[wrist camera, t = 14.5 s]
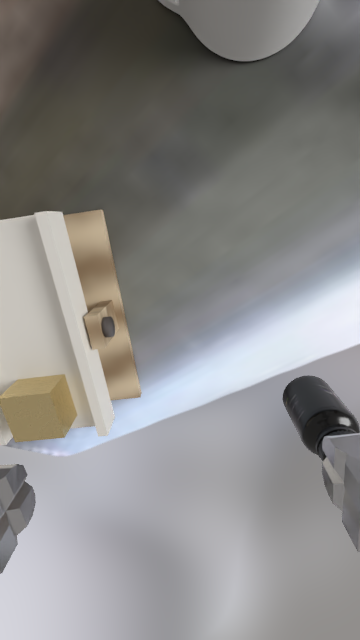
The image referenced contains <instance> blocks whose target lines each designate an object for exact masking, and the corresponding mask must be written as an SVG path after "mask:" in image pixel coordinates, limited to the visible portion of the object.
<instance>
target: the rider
mask: <svg viewBox="0 0 360 640" xmlns="http://www.w3.org/2000/svg"><path fill="white" fill-rule="evenodd" d="M0 406H1V409H2V411H3V414H4V416H5V418H6V421H7V423H8V426H9V428H10V431H11V433H12V435H13V438H14V440H15V442H23V441H33V440H43V439H54V438H64V437H65V436H66V434H67V432H68V431H69V429H70V427H71V425H72V424H73V422H74V420H75V418H76V417H77V412H76V409H75V406H74V403H73V399H72V396H71V393H70V390H69V386H68V383H67V380H66V377H65V374H61V375H52V376H44V377H35V378H26V379H18V380H17V381H16V382H15V383H13V384H12V385H11V386H10V387H9V388H8V389H7V390H6V391H5V392H4V393H3V394H2V395H1V396H0Z"/></svg>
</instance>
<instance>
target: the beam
mask: <svg viewBox="0 0 360 640" xmlns="http://www.w3.org/2000/svg"><path fill="white" fill-rule="evenodd" d="M87 314H88V310H87V307H86V303H85V299H84V295H83V291H82V287H81V283H80V279H79V275H78V271H77V268H76V264H75V260H74V256H73V252H72V248H71V244H70V240H69V236H68V233H67V229H66V225H65V221H64V217H63V213H62V212H55V211H44V212H37V213H35V215H31V216H24V217H18V218H11V219H5V220H0V396H1V395H2V394H3V393H4V392H5V391H6V390H7V389H8V388H9V387H10V386H11V385H12V384H13V383H15V382H16V381H17V380H18V379H26V378H35V377H44V376H52V375H61V374H65V377H66V380H67V383H68V386H69V390H70V393H71V396H72V399H73V403H74V406H75V409H76V412H77V417H76V418H75V420H74V422H73V424H72V425H71V427H70V428H80V427H91V426H96V430H97V433H98V436H107V435H108V434H109V431H110V428H111V426H112V423H113V420H114V418H115V416H114V412H113V408H112V404H111V400H110V396H109V392H108V388H107V384H106V381H105V377H104V373H103V369H102V365H101V361H100V357H99V353H98V349H95V350H92V346H91V342H90V338H89V334H88V330H87V326H86V323H85V319H84V316H85V315H87ZM12 437H13V435H12V433H11V431H10V428H9V426H8V423H7V421H6V418H5V416H4V414H3V411H2V409H1V406H0V445H7V443H8V442H9V441H10V440H11V438H12Z"/></svg>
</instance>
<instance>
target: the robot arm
mask: <svg viewBox="0 0 360 640" xmlns="http://www.w3.org/2000/svg"><path fill="white" fill-rule="evenodd" d="M158 1H159V2H160V3H162V4H163V5H164V6H166V7H167V8H169V9H170V10H172V11H174V12H175V13H177V14H179V15H180V16H181V17H182V18H183V19H184V20H185V21H186V22H187V24H188V25H189V27H190V28H191V30H192V31H193V33H194V34H195V35H196V37H197V38H198V39H199V40H200V41H201V42H202V43H203V44H204V45H205V46H206V47H207V48H209V49H210V50H211V51H213V52H214V53H216V54H218V55H220V56H222V57H224V58H227V59H231V60H235V61H254V60H259V59H263V58H266V57H268V56H271V55H273V54H275V53H277V52H278V51H280V50H281V49H283V48H284V47H286V46H287V45H288V44H289V43H290V42H292V41H293V40H294V39H295V38H296V37H297V36H298V34H299V33H300V32H301V31H302V30H303V28H304V27H305V26H306V24H307V23H308V21H309V20H310V18H311V16H312V15H313V13H314V11H315V9H316V7H317V5H318V3H319V1H320V0H158ZM322 449H323V451H324V453H325V455H326V456H327V457H326V459H325V460H324V461H323V462H322V475H323V479H324V484H325V487H326V490H327V492H328V495H329V497H330V498H331V501H332V503H333V504H334V505H335V506H337V507H338V508H340V509H341V510H342V511H343V513H342V522H343V524H344V526H345V528H346V530H347V532H348V534H349V536H350V538H351V540H352V542H353V544H354V545H355V547H356V549H357V551H358V552H360V433H354V434H344V435H334V436H324V439H323V442H322ZM26 477H27V473H26V471H25V468H24V466H23V465H19V464H15V465H0V574H1V573H2V572H3V570H4V568H5V566H6V564H7V563H8V561H9V559H10V557H11V555H12V553H13V552H14V550H15V548H16V546H17V535H18V534H19V533H20V532H21V531H22V530H23V529H24V528H26V527H27V525H28V523H29V521H30V519H31V517H32V515H33V511H34V507H35V493H34V490H33V488H32V486H30V485H29V484H28V483H26V482H25V479H26Z"/></svg>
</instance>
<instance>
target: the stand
mask: <svg viewBox="0 0 360 640" xmlns="http://www.w3.org/2000/svg"><path fill="white" fill-rule="evenodd" d="M63 217H64V221H65V225H66V229H67V233H68V236H69V240H70V244H71V248H72V252H73V256H74V260H75V264H76V268H77V271H78V275H79V279H80V283H81V287H82V291H83V295H84V299H85V303H86V307H87V310H88V314H87V315H85V316H84V319H85V323H86V326H87V330H88V334H89V338H90V342H91V346H92V350H95V349H98V353H99V357H100V361H101V365H102V369H103V373H104V377H105V381H106V384H107V388H108V392H109V396H110V400H118V399H128V398H138V397H140V396H141V389H140V385H139V380H138V375H137V370H136V366H135V361H134V356H133V351H132V346H131V342H130V337H129V332H128V327H127V323H126V318H125V313H124V308H123V304H122V299H121V294H120V289H119V285H118V280H117V275H116V270H115V266H114V261H113V256H112V251H111V246H110V242H109V237H108V232H107V227H106V223H105V218H104V213H103V210H95V211H88V212H82V213H75V214H69V215H63Z"/></svg>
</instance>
